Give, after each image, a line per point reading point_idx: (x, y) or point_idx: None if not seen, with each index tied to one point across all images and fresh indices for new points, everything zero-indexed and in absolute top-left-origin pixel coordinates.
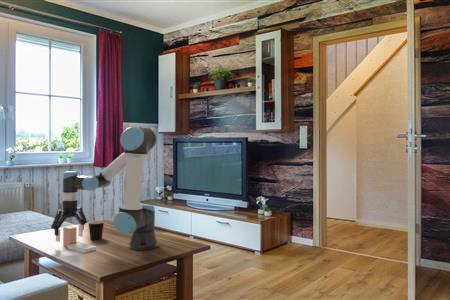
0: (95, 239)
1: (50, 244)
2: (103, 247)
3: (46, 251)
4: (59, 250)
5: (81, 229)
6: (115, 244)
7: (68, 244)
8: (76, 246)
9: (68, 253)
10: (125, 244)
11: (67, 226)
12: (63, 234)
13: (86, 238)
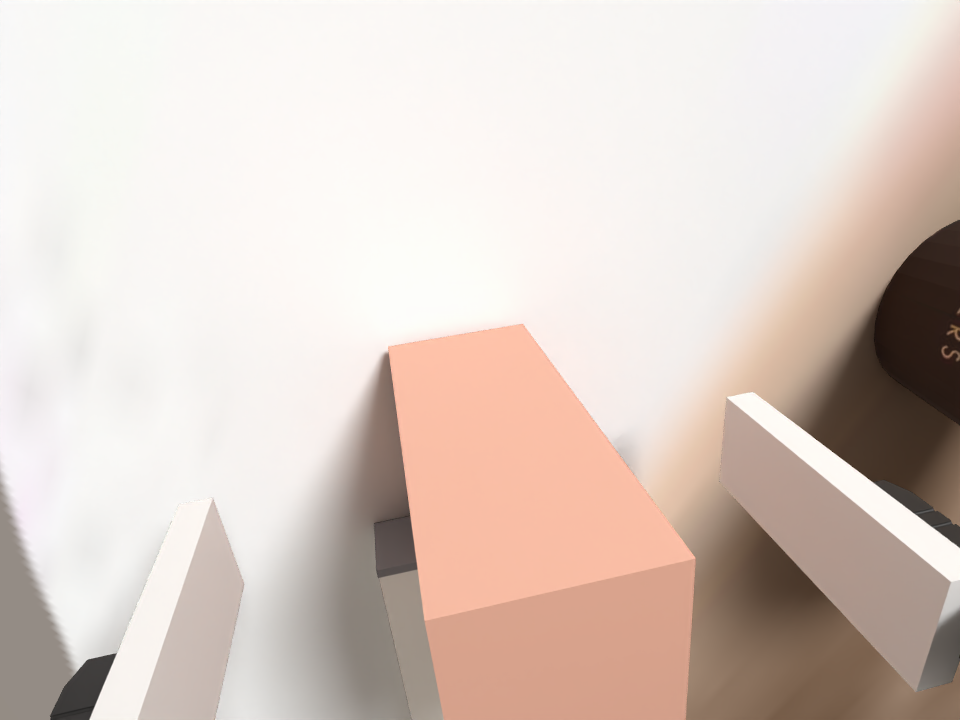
0: (904, 384)
1: (230, 12)
2: (705, 694)
3: (22, 477)
4: (236, 540)
5: (821, 590)
6: (857, 660)
7: (389, 574)
8: (435, 698)
9: (286, 715)
10: (901, 704)
11: (590, 591)
12: (406, 468)
13: (944, 121)
